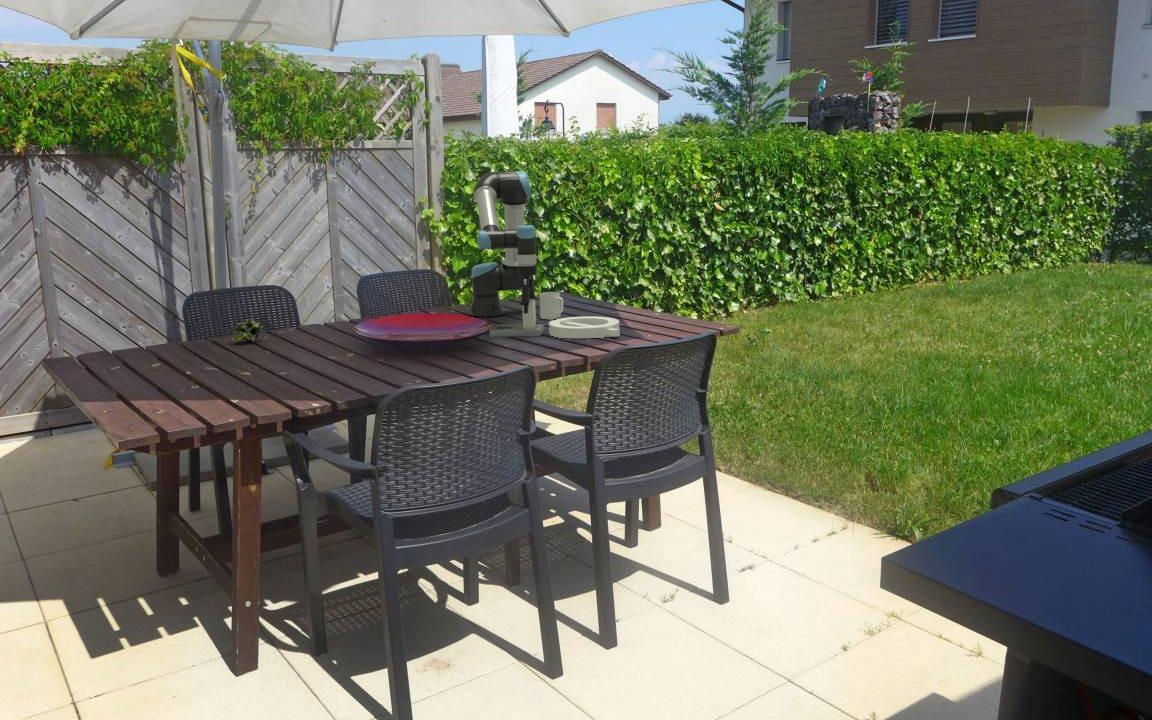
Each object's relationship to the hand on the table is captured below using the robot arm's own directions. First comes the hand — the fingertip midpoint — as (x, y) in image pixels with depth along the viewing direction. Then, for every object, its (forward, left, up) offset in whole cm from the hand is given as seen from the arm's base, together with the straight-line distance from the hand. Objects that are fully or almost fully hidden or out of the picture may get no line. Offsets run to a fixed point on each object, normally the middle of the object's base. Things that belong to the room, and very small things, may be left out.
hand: (529, 318), depth 374 cm
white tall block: (0, 0, -6) cm, 6 cm away
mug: (-35, +5, -6) cm, 36 cm away
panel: (0, -5, -6) cm, 8 cm away
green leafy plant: (+15, -110, -6) cm, 111 cm away
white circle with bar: (0, +22, -7) cm, 23 cm away
